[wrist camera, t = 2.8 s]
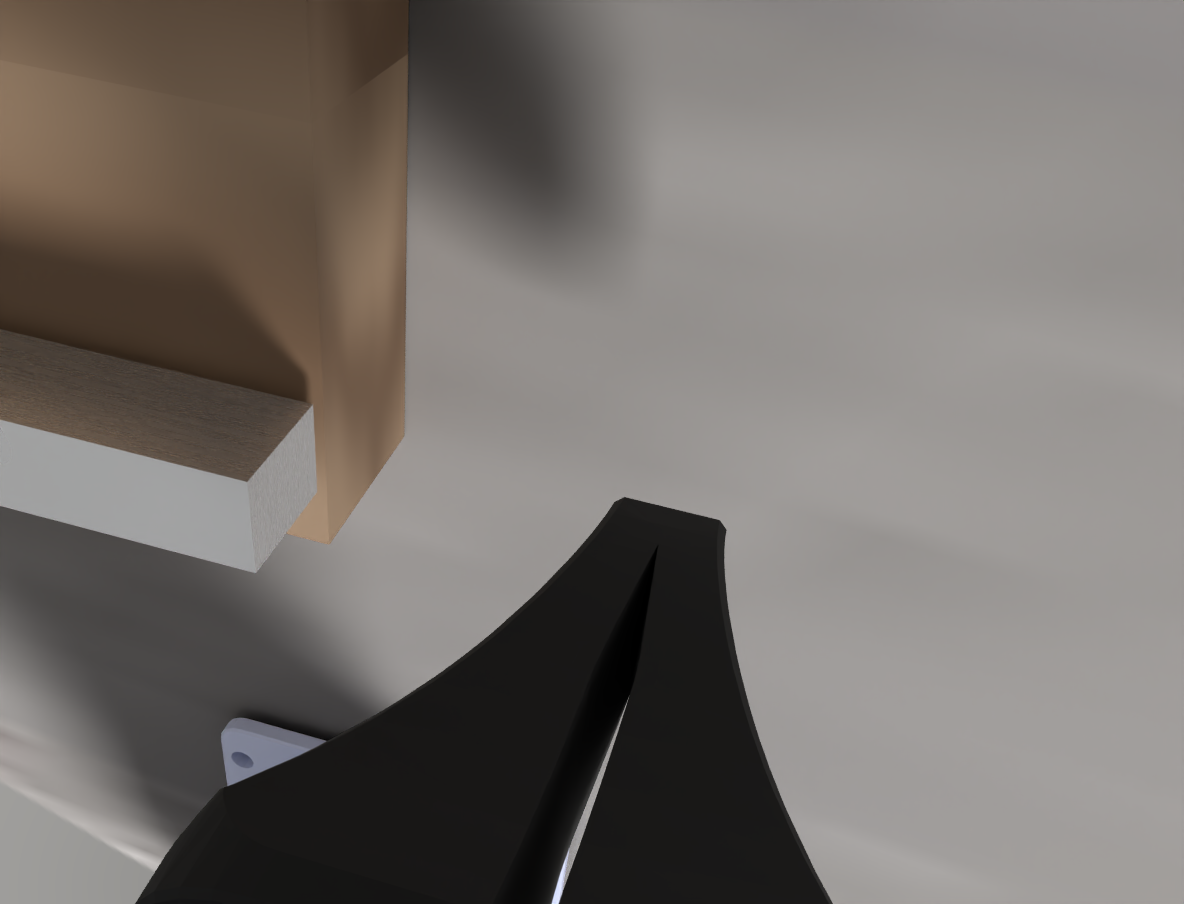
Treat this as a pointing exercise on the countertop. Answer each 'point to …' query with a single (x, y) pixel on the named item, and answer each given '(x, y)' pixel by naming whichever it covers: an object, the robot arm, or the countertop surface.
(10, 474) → the bar
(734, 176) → the countertop surface
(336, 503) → the socket block
